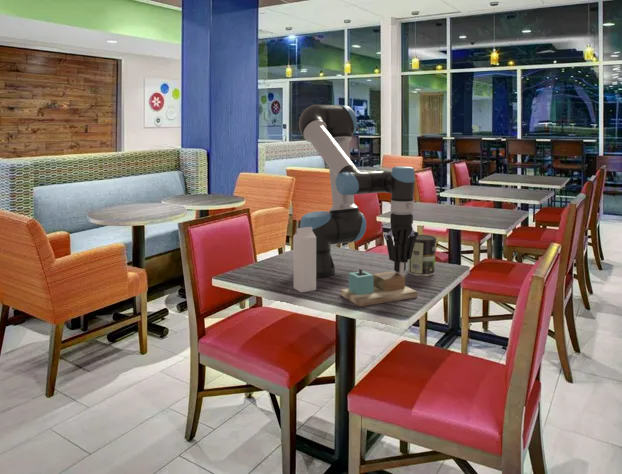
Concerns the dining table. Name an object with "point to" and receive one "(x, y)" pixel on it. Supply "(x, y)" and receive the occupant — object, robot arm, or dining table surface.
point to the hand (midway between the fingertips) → (399, 280)
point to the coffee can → (423, 256)
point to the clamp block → (389, 281)
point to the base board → (378, 295)
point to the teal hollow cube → (361, 283)
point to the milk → (304, 259)
